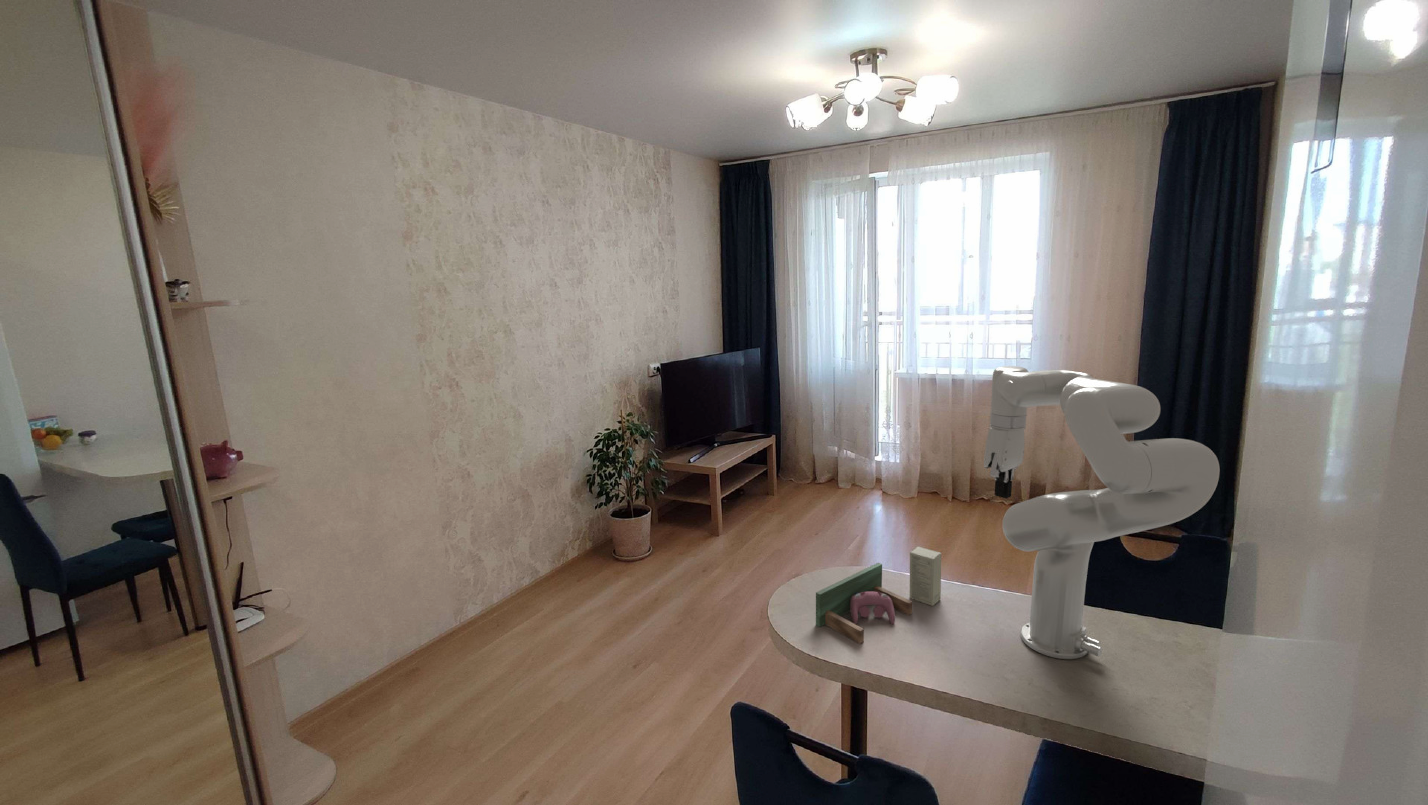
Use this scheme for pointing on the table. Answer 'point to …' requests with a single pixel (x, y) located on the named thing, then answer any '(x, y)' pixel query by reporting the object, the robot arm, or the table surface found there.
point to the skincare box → (925, 575)
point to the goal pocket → (838, 598)
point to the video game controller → (871, 598)
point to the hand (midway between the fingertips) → (1002, 496)
